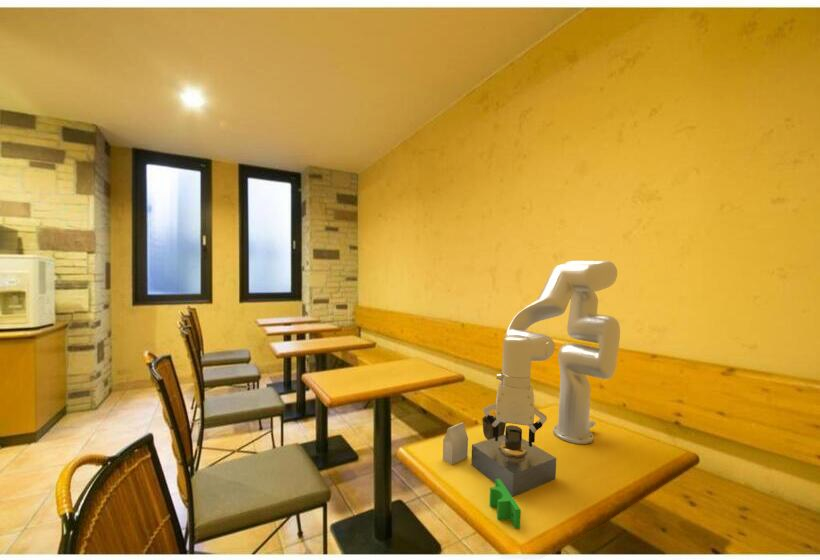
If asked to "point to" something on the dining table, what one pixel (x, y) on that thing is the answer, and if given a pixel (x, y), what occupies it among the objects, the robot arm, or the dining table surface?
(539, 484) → the plate
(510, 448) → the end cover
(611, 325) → the robot arm
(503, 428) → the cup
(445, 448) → the tan milk carton
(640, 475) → the dining table surface
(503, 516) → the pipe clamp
